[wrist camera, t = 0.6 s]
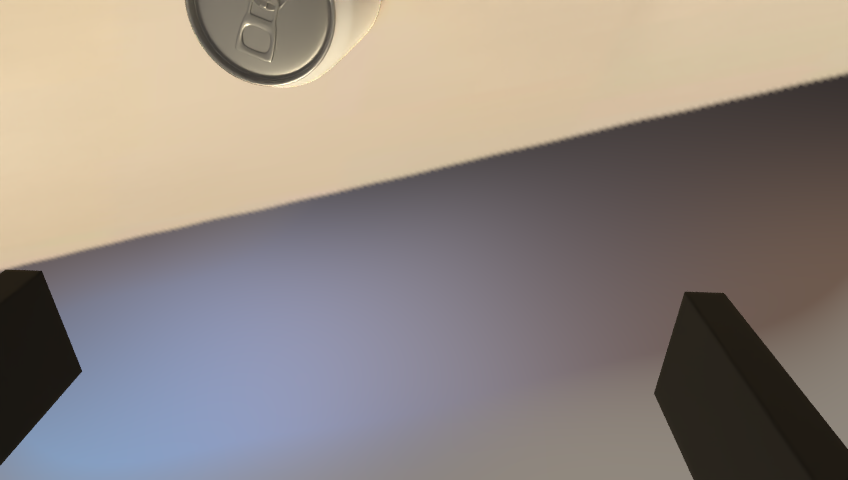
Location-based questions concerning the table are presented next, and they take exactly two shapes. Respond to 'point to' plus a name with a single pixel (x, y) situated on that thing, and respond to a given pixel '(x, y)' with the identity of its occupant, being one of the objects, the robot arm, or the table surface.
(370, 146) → the table surface
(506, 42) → the table surface
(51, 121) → the table surface
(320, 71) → the can
